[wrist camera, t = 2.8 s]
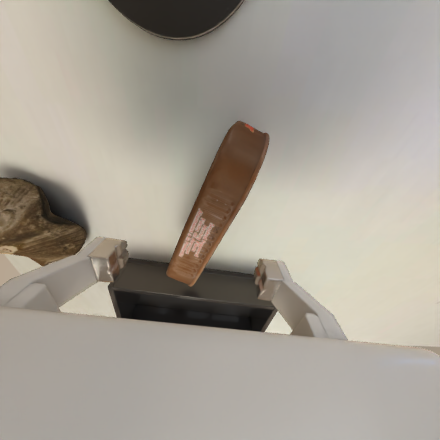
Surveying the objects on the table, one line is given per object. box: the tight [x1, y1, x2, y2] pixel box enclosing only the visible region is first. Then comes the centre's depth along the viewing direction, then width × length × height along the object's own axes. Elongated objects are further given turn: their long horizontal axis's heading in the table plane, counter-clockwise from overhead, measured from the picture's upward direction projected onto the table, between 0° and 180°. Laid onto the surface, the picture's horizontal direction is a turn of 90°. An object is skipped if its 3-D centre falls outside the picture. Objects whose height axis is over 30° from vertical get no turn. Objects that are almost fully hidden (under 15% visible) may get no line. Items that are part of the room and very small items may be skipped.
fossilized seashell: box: [0, 178, 86, 266], centre depth 18 cm, size 8×7×10 cm
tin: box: [166, 121, 269, 287], centre depth 15 cm, size 15×3×8 cm, turn 155°
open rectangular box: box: [108, 258, 278, 332], centre depth 25 cm, size 21×11×5 cm, turn 81°
